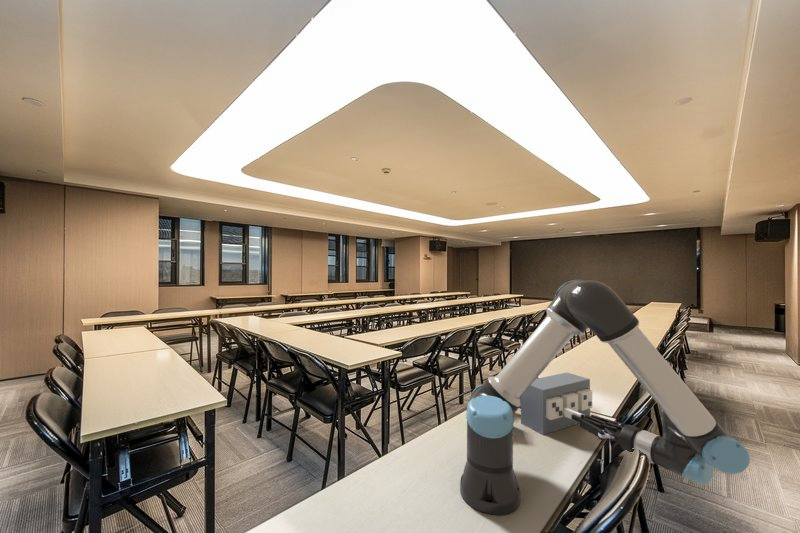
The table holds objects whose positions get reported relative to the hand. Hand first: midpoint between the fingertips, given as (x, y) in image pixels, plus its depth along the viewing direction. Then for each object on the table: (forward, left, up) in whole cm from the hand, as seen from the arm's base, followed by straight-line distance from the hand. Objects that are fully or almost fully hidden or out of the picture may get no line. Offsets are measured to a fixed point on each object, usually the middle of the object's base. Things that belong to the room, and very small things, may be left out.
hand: (565, 412), depth 115 cm
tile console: (+8, +10, -9) cm, 16 cm away
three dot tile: (-1, +4, -3) cm, 5 cm away
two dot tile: (+17, +4, -3) cm, 18 cm away
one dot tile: (+8, +4, -3) cm, 10 cm away
